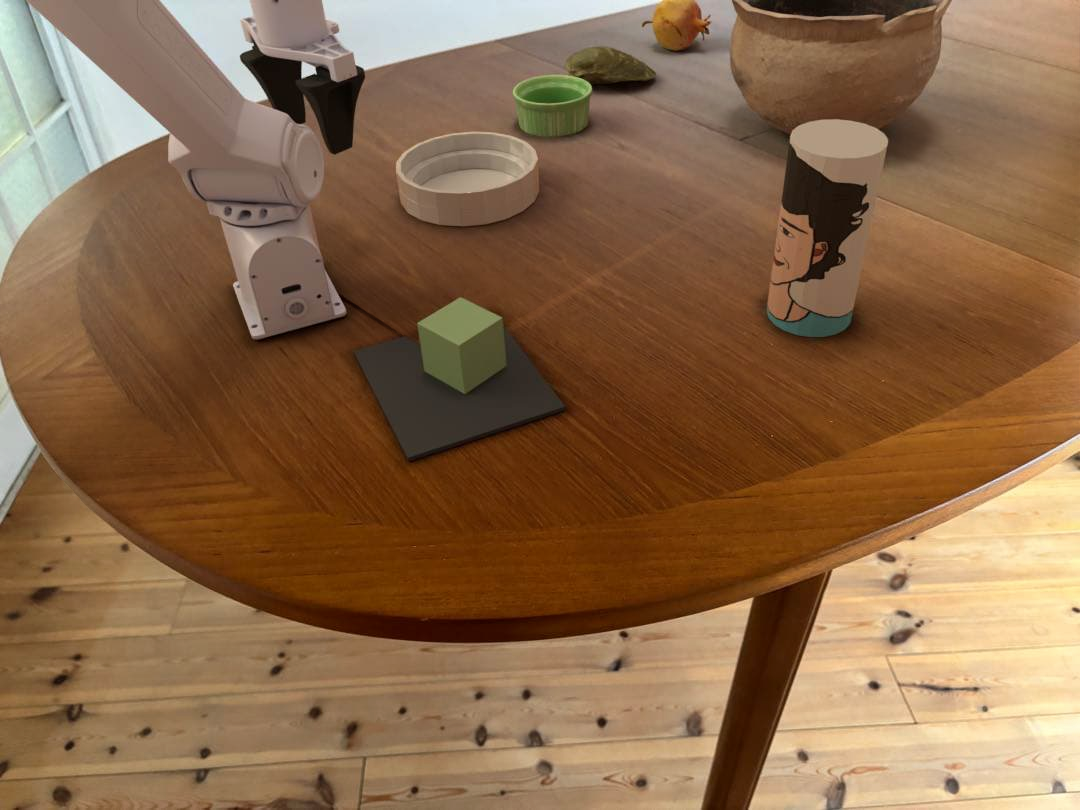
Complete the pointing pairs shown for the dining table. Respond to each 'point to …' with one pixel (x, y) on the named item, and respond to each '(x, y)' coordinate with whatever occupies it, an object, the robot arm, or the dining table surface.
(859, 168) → the cup
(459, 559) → the dining table surface
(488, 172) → the basin
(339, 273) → the dining table surface
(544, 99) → the ramekin
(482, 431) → the mat
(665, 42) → the fruit
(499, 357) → the green block
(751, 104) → the ceramic bowl
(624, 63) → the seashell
